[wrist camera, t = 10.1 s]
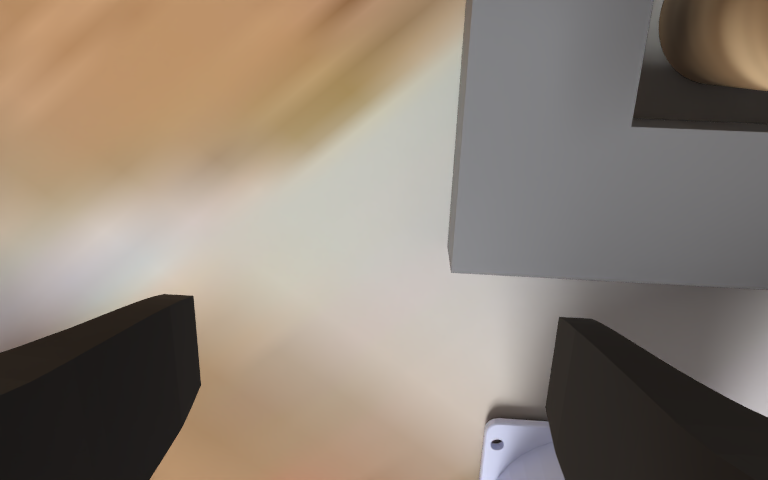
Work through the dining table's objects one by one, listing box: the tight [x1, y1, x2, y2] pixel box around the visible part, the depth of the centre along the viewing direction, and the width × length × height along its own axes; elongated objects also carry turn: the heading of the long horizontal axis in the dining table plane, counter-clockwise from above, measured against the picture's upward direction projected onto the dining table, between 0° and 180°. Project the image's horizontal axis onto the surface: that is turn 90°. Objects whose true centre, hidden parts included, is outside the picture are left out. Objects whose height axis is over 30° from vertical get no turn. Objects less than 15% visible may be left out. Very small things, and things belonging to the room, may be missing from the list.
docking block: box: [448, 0, 768, 290], centre depth 16 cm, size 16×16×2 cm
